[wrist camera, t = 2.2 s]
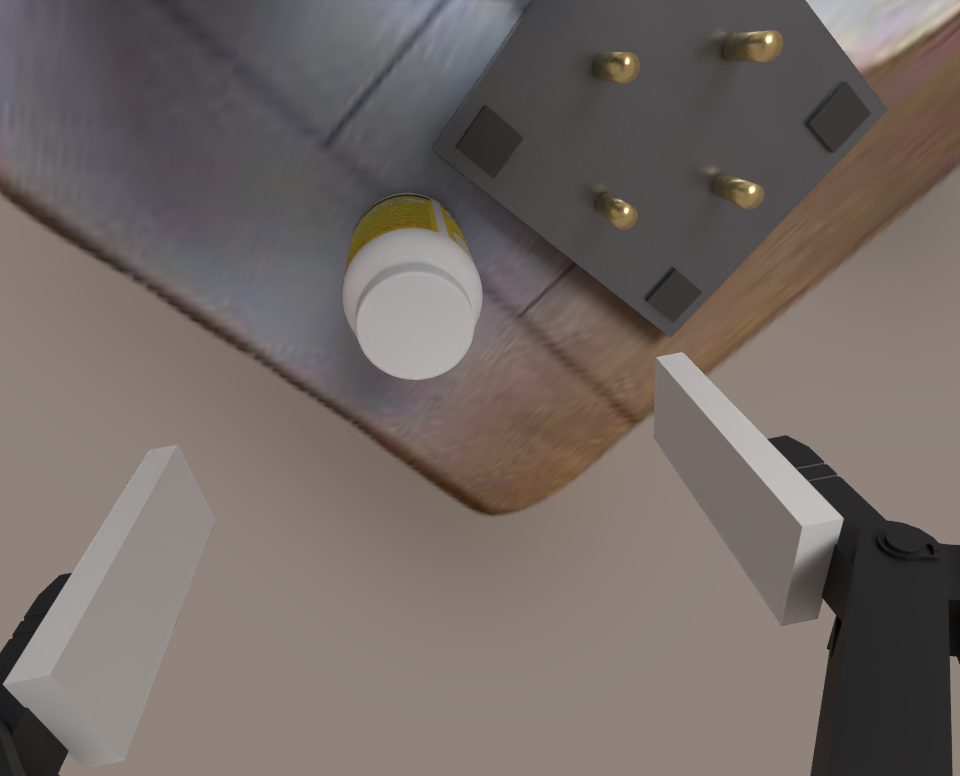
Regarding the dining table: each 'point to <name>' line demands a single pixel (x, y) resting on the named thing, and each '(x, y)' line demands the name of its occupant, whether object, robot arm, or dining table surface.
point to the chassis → (659, 135)
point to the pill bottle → (411, 287)
